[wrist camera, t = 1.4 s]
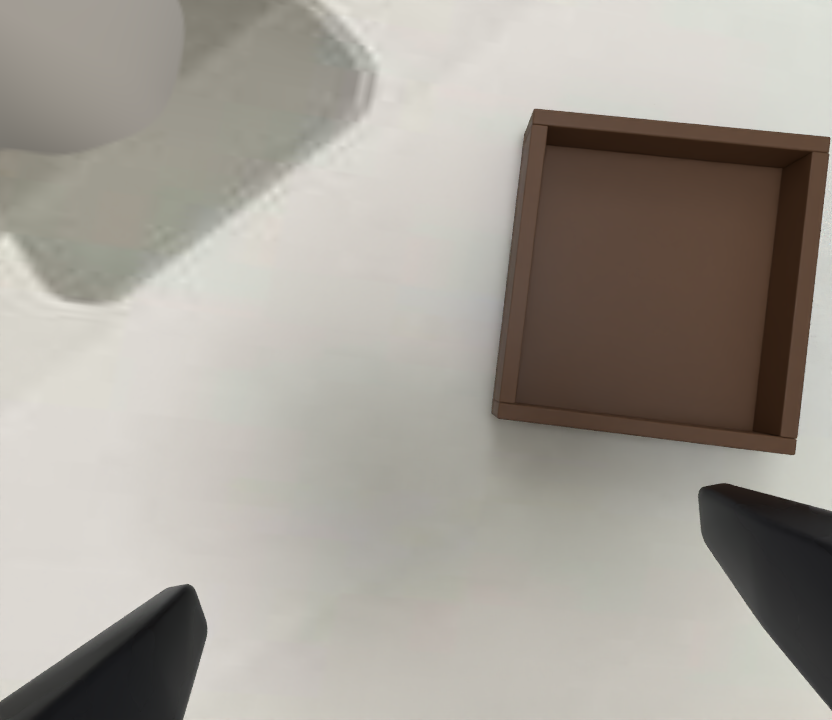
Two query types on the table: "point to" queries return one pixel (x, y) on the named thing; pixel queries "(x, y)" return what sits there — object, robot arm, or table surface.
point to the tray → (661, 279)
